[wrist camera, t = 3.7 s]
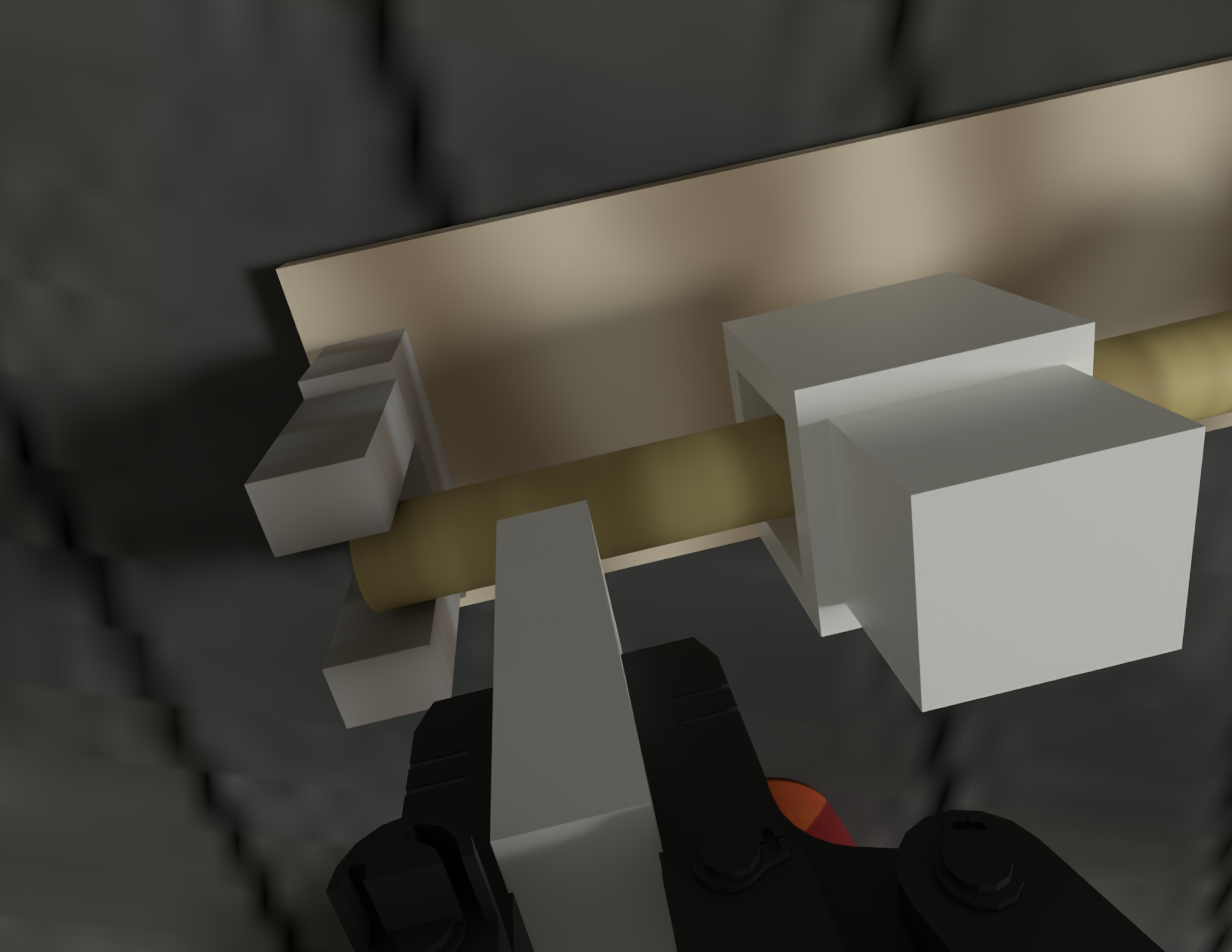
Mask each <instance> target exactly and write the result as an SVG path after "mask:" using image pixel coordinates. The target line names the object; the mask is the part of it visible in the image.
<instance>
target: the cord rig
mask: <svg viewBox="0 0 1232 952" xmlns="http://www.w3.org/2000/svg"><path fill="white" fill-rule="evenodd" d="M276 272H277V274H278V277H279V280H280V283H281V285H282V288H283V291H284V294H285V296H286V299H287V302H288V305H289V308H290V310H291V313H292V316H293V319H294V321H295V324H296V327H297V330H298V332H299V335H300V338H301V341H302V344H303V346H304V349H305V352H306V355H307V357H308V360H309V363H310V367H309V368H308V369H307V371H306V372H305V373H304V375H303V376H302V377H301V378H300V380H299V381H298V384H299V387H300V390H301V392H302V395H303V398H304V401H303V402H302V404H301V405H300V406H299V408H298V409H297V411H296V412H295V413H294V415H293V416H292V418H291V419H290V420H289V422H288V423H287V425H286V426H285V428H284V429H283V430H282V432H281V433H280V435H279V436H278V437H277V439H276V440H275V442H274V443H273V444H272V446H271V447H270V449H269V450H268V452H267V453H266V454H265V456H264V457H263V459H262V460H261V461H260V463H259V464H258V466H257V467H256V468H255V470H254V471H253V473H252V474H251V476H250V477H249V478H248V480H247V481H246V483H245V484H244V486H245V488H246V490H247V493H248V495H249V498H250V500H251V502H252V505H253V507H254V509H255V512H256V514H257V517H258V519H259V521H260V524H261V526H262V528H263V531H264V533H265V536H266V538H267V540H268V543H269V545H270V547H271V550H272V552H273V554H274V557H279V556H284V555H288V554H292V553H297V552H301V551H305V550H310V549H314V548H318V547H323V546H327V545H331V544H335V543H340V542H344V541H348V540H349V545H350V553H351V559H352V564H353V568H354V574H353V577H352V580H351V583H350V586H349V589H348V592H347V595H346V599H345V602H344V605H343V608H342V611H341V614H340V617H339V620H338V623H337V626H336V629H335V632H334V635H333V638H332V641H331V644H330V647H329V650H328V653H327V656H326V659H325V662H324V665H323V668H322V671H323V673H324V675H325V678H326V680H327V682H328V685H329V687H330V690H331V692H332V694H333V697H334V699H335V701H336V704H337V706H338V709H339V711H340V713H341V716H342V718H343V720H344V723H345V725H346V728H351V727H356V726H360V725H364V724H368V723H372V722H377V721H381V720H385V719H389V718H393V717H397V716H402V715H406V714H410V713H414V712H418V711H423V710H427V709H429V708H430V707H431V705H432V704H433V702H434V701H439V700H443V699H447V698H451V694H452V683H453V672H454V661H455V650H456V639H457V628H458V616H459V607H462V606H466V605H471V604H475V603H479V602H483V601H488V600H492V599H495V578H496V528H497V521H498V520H502V519H507V518H511V517H515V516H520V515H524V514H528V513H533V512H537V511H541V510H545V509H550V508H554V507H558V506H563V505H567V504H571V503H576V502H580V501H584V500H587V504H588V508H589V513H590V517H591V521H592V525H593V530H594V534H595V538H596V542H597V547H598V551H599V555H600V559H601V564H602V568H603V572H604V573H607V572H611V571H615V570H620V569H624V568H628V567H632V566H637V565H641V564H645V563H649V562H654V561H658V560H662V559H667V558H671V557H675V556H679V555H684V554H688V553H692V552H696V551H701V550H705V549H709V548H713V547H718V546H722V545H726V544H730V543H735V542H739V541H743V540H747V539H752V538H756V537H760V536H759V534H758V532H757V531H756V529H755V527H754V526H753V524H757V523H761V522H765V521H769V520H774V519H778V518H782V517H786V516H791V515H795V507H794V499H793V490H792V482H791V473H790V465H789V456H788V448H787V439H786V431H785V422H784V420H783V419H782V417H781V416H780V415H779V414H775V415H771V416H767V417H762V418H758V419H753V420H749V421H745V422H740V423H736V417H735V410H734V403H733V396H732V390H731V383H730V376H729V369H728V362H727V355H726V348H725V341H724V334H723V327H722V323H724V322H728V321H732V320H737V319H741V318H746V317H750V316H755V315H759V314H764V313H768V312H772V311H777V310H781V309H786V308H790V307H795V306H799V305H804V304H808V303H812V302H817V301H821V300H826V299H830V298H835V297H839V296H843V295H848V294H852V293H857V292H861V291H866V290H870V289H875V288H879V287H883V286H888V285H892V284H897V283H901V282H906V281H910V280H915V279H919V278H923V277H928V276H932V275H937V274H941V273H946V272H952V273H955V274H957V275H960V276H963V277H966V278H969V279H972V280H975V281H978V282H981V283H984V284H986V285H989V286H992V287H995V288H998V289H1001V290H1004V291H1007V292H1010V293H1013V294H1015V295H1018V296H1021V297H1024V298H1027V299H1030V300H1033V301H1036V302H1039V303H1042V304H1044V305H1047V306H1050V307H1053V308H1056V309H1059V310H1062V311H1065V312H1068V313H1071V314H1073V315H1076V316H1079V317H1082V318H1085V319H1088V320H1091V321H1094V322H1095V338H1094V359H1093V377H1095V378H1097V379H1099V380H1101V381H1104V382H1106V383H1108V384H1111V385H1113V386H1115V387H1117V388H1120V389H1122V390H1124V391H1127V392H1129V393H1131V394H1133V395H1136V396H1138V397H1140V398H1142V399H1145V400H1147V401H1149V402H1152V403H1154V404H1156V405H1158V406H1161V407H1163V408H1165V409H1168V410H1170V411H1172V412H1174V413H1177V414H1179V415H1181V416H1183V417H1186V418H1188V419H1190V420H1193V421H1195V422H1197V423H1199V424H1202V425H1204V426H1206V428H1205V432H1207V431H1212V430H1216V429H1220V428H1224V427H1229V426H1232V56H1230V57H1225V58H1220V59H1216V60H1211V61H1207V62H1202V63H1197V64H1193V65H1188V66H1184V67H1179V68H1175V69H1170V70H1165V71H1161V72H1156V73H1152V74H1147V75H1143V76H1138V77H1133V78H1129V79H1124V80H1120V81H1115V82H1111V83H1106V84H1101V85H1097V86H1092V87H1088V88H1083V89H1078V90H1074V91H1069V92H1065V93H1060V94H1056V95H1051V96H1046V97H1042V98H1037V99H1033V100H1028V101H1024V102H1019V103H1014V104H1010V105H1005V106H1001V107H996V108H992V109H987V110H982V111H978V112H973V113H969V114H964V115H959V116H955V117H950V118H946V119H941V120H937V121H932V122H927V123H923V124H918V125H914V126H909V127H905V128H900V129H895V130H891V131H886V132H882V133H877V134H873V135H868V136H863V137H859V138H854V139H850V140H845V141H840V142H836V143H831V144H827V145H822V146H818V147H813V148H808V149H804V150H799V151H795V152H790V153H786V154H781V155H776V156H772V157H767V158H763V159H758V160H754V161H749V162H744V163H740V164H735V165H731V166H726V167H721V168H717V169H712V170H708V171H703V172H699V173H694V174H689V175H685V176H680V177H676V178H671V179H667V180H662V181H657V182H653V183H648V184H644V185H639V186H635V187H630V188H625V189H621V190H616V191H612V192H607V193H602V194H598V195H593V196H589V197H584V198H580V199H575V200H570V201H566V202H561V203H557V204H552V205H548V206H543V207H538V208H534V209H529V210H525V211H520V212H516V213H511V214H506V215H502V216H497V217H493V218H488V219H484V220H479V221H474V222H470V223H465V224H461V225H456V226H451V227H447V228H442V229H438V230H433V231H429V232H424V233H419V234H415V235H410V236H406V237H401V238H397V239H392V240H387V241H383V242H378V243H374V244H369V245H365V246H360V247H355V248H351V249H346V250H342V251H337V252H332V253H328V254H323V255H319V256H314V257H310V258H305V259H300V260H296V261H291V262H287V263H285V264H283V265H282V266H280V267H279V268H277V269H276Z"/></svg>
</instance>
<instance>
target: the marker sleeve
mask: <svg viewBox="0 0 1232 952" xmlns="http://www.w3.org/2000/svg"><path fill="white" fill-rule="evenodd" d="M722 327H723V334H724V341H725V348H726V355H727V362H728V369H729V376H730V383H731V390H732V396H733V403H734V410H735V417H736V423H740V422H745V421H749V420H753V419H758V418H762V417H767V416H771V415H775V414H779V415H780V416H781V417H782V419H783V420H784V422H785V431H786V439H787V448H788V456H789V465H790V473H791V482H792V490H793V499H794V507H795V515H791V516H786V517H782V518H778V519H774V520H769V521H765V522H761V523H757V524H753V526H754V527H755V529H756V531H757V532H758V534H759V536H760V537H761V539H762V541H763V542H764V544H765V545H766V547H767V549H768V550H769V552H770V554H771V555H772V557H773V558H774V560H775V562H776V563H777V565H778V567H779V568H780V570H781V572H782V573H783V575H784V576H785V578H786V580H787V581H788V583H789V585H790V586H791V588H792V589H793V591H794V593H795V594H796V596H797V598H798V599H799V601H800V603H801V604H802V606H803V607H804V609H805V611H806V612H807V614H808V616H809V617H810V619H811V620H812V622H813V624H814V625H815V627H816V629H817V630H818V632H819V634H820V635H821V637H823V636H828V635H832V634H836V633H840V632H844V631H848V630H853V629H857V628H861V627H863V629H864V630H865V632H866V633H867V635H868V636H869V637H870V639H871V640H872V642H873V643H874V644H875V646H876V647H877V649H878V650H879V652H880V653H881V654H882V656H883V657H884V659H885V660H886V662H887V663H888V664H889V666H890V667H891V669H892V670H893V671H894V673H895V674H896V676H897V677H898V679H899V680H900V681H901V683H902V684H903V686H904V687H905V688H906V690H907V691H908V693H909V694H910V696H911V697H912V698H913V700H914V701H915V703H916V704H917V706H918V707H919V708H920V710H921V711H922V712H925V711H929V710H933V709H937V708H941V707H946V706H950V705H954V704H958V703H962V702H966V701H970V700H974V699H978V698H982V697H987V696H991V695H995V694H999V693H1003V692H1007V691H1011V690H1015V689H1019V688H1023V687H1028V686H1032V685H1036V684H1040V683H1044V682H1048V681H1052V680H1056V679H1060V678H1064V677H1068V676H1073V675H1077V674H1081V673H1085V672H1089V671H1093V670H1097V669H1101V668H1105V667H1109V666H1114V665H1118V664H1122V663H1126V662H1130V661H1134V660H1138V659H1142V658H1146V657H1150V656H1154V655H1159V654H1163V653H1167V652H1171V651H1175V650H1179V649H1182V640H1183V631H1184V622H1185V613H1186V604H1187V594H1188V585H1189V576H1190V567H1191V557H1192V548H1193V539H1194V530H1195V520H1196V511H1197V502H1198V493H1199V484H1200V474H1201V465H1202V456H1203V447H1204V437H1205V428H1206V426H1204V425H1202V424H1199V423H1197V422H1195V421H1193V420H1190V419H1188V418H1186V417H1183V416H1181V415H1179V414H1177V413H1174V412H1172V411H1170V410H1168V409H1165V408H1163V407H1161V406H1158V405H1156V404H1154V403H1152V402H1149V401H1147V400H1145V399H1142V398H1140V397H1138V396H1136V395H1133V394H1131V393H1129V392H1127V391H1124V390H1122V389H1120V388H1117V387H1115V386H1113V385H1111V384H1108V383H1106V382H1104V381H1101V380H1099V379H1097V378H1095V377H1093V359H1094V338H1095V322H1094V321H1091V320H1088V319H1085V318H1082V317H1079V316H1076V315H1073V314H1071V313H1068V312H1065V311H1062V310H1059V309H1056V308H1053V307H1050V306H1047V305H1044V304H1042V303H1039V302H1036V301H1033V300H1030V299H1027V298H1024V297H1021V296H1018V295H1015V294H1013V293H1010V292H1007V291H1004V290H1001V289H998V288H995V287H992V286H989V285H986V284H984V283H981V282H978V281H975V280H972V279H969V278H966V277H963V276H960V275H957V274H955V273H952V272H946V273H941V274H937V275H932V276H928V277H923V278H919V279H915V280H910V281H906V282H901V283H897V284H892V285H888V286H883V287H879V288H875V289H870V290H866V291H861V292H857V293H852V294H848V295H843V296H839V297H835V298H830V299H826V300H821V301H817V302H812V303H808V304H804V305H799V306H795V307H790V308H786V309H781V310H777V311H772V312H768V313H764V314H759V315H755V316H750V317H746V318H741V319H737V320H732V321H728V322H724V323H722Z"/></svg>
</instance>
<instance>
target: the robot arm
mask: <svg viewBox="0 0 1232 952" xmlns="http://www.w3.org/2000/svg"><path fill="white" fill-rule="evenodd" d="M410 767H411V769H409V771H408V778H407V785H406V791H407V795H406V796H405V799H404V805H403V812H402V818H400V819H397V820H394V821H392V822H389V823H387V824H384V825H382V826H380V827H379V828H377V829H376V830H374V831H373V832H372V833H370V834H369V835H367V836H366V837H365V838H363V839H362V840H360V841H359V842H358V843H356V844H355V846H354V847H353V848H352V849H351V850H350V851H349V853H348V854H347V855H346V856H345V857H344V858H343V860H342V861H341V862H340V863H339V864H338V865H337V867H336V869H335V872H334V874H333V876H332V878H331V881H330V883H329V885H328V888H327V890H326V893H327V895H328V897H329V899H330V901H331V903H332V905H333V907H334V909H335V911H336V913H337V915H338V918H339V920H340V922H341V924H342V926H343V928H344V930H345V932H346V934H347V936H348V938H349V940H350V942H351V944H352V946H353V948H354V950H355V952H1165V951H1164V950H1162V949H1161V948H1160V947H1159V946H1158V945H1157V944H1156V943H1155V942H1153V941H1152V940H1151V939H1150V938H1149V937H1148V936H1147V935H1146V934H1145V933H1143V932H1142V931H1141V930H1140V929H1139V928H1138V927H1137V926H1136V925H1135V924H1133V923H1132V922H1131V921H1130V920H1129V919H1128V918H1127V917H1126V916H1125V915H1123V914H1122V913H1121V912H1120V911H1119V910H1118V909H1117V908H1116V907H1114V906H1113V905H1112V904H1111V903H1110V902H1109V901H1108V900H1107V899H1106V898H1104V897H1103V896H1102V895H1101V894H1100V893H1099V892H1098V891H1097V890H1096V889H1094V888H1093V887H1092V886H1091V885H1090V884H1089V883H1088V882H1087V881H1085V880H1084V879H1083V878H1082V877H1081V876H1080V875H1079V874H1078V873H1077V872H1075V871H1074V870H1073V869H1072V868H1071V867H1070V866H1069V865H1068V864H1067V863H1065V862H1064V861H1063V860H1062V859H1061V858H1060V857H1059V856H1058V855H1057V854H1055V853H1054V852H1053V851H1052V850H1051V849H1050V848H1049V847H1048V846H1046V845H1045V844H1044V843H1043V842H1042V841H1041V840H1040V839H1039V838H1037V837H1036V836H1034V835H1033V834H1031V833H1030V832H1028V831H1027V830H1025V829H1024V828H1022V827H1020V826H1019V825H1017V824H1016V823H1014V822H1013V821H1011V820H1008V819H1005V818H1001V817H998V816H995V815H992V814H989V813H986V812H983V811H965V810H949V811H946V812H943V813H939V814H936V815H932V816H929V817H925V818H924V819H922V820H921V821H920V822H919V823H917V824H916V825H915V826H914V827H912V828H911V829H910V830H909V831H907V832H906V833H905V835H904V838H903V840H902V842H901V844H900V847H899V849H897V848H875V847H855V846H848V845H841V844H834V843H830V842H828V841H825V840H822V839H819V838H816V837H814V836H811V835H810V834H808V833H806V832H805V831H803V830H802V829H800V828H798V827H797V826H795V825H794V824H793V823H792V822H791V821H790V820H789V819H788V818H787V817H786V816H785V815H784V814H783V813H782V812H781V810H780V808H779V807H778V805H777V803H776V802H775V800H774V798H773V796H772V793H771V791H770V788H769V786H768V783H767V780H766V778H765V775H764V773H763V770H762V768H761V765H760V763H759V760H758V758H757V755H756V753H755V750H754V748H753V745H752V742H751V740H750V737H749V735H748V732H747V730H746V727H745V725H744V722H743V720H742V717H741V715H740V712H739V711H738V708H737V704H736V702H735V699H734V697H733V694H732V692H731V689H730V688H729V685H728V682H727V679H726V677H725V674H724V671H723V669H722V666H721V664H720V661H719V659H718V656H716V655H715V654H714V653H713V652H711V651H710V650H709V649H708V648H706V647H705V646H704V645H703V644H701V643H700V642H699V641H698V640H696V639H695V638H694V637H691V638H687V639H683V640H679V641H674V642H670V643H666V644H662V645H658V646H654V647H649V648H645V649H641V650H637V651H633V652H628V653H624V654H622V649H621V645H620V640H619V636H618V631H617V627H616V623H615V619H614V615H613V610H612V606H611V602H610V598H609V593H608V589H607V585H606V581H605V576H604V572H603V568H602V564H601V559H600V555H599V551H598V547H597V542H596V538H595V534H594V530H593V525H592V521H591V517H590V513H589V508H588V504H587V500H584V501H580V502H576V503H571V504H567V505H563V506H558V507H554V508H550V509H545V510H541V511H537V512H533V513H528V514H524V515H520V516H515V517H511V518H507V519H502V520H498V521H497V528H496V578H495V627H494V677H493V688H489V689H485V690H481V691H476V692H472V693H468V694H464V695H460V696H455V697H451V698H447V699H443V700H439V701H434V702H433V704H432V705H431V707H430V708H429V710H428V711H427V713H426V714H425V716H424V718H423V719H422V721H421V722H420V724H419V725H418V727H417V729H416V730H415V732H414V737H413V744H412V751H411V758H410Z"/></svg>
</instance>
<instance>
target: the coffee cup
mask: <svg viewBox="0 0 1232 952" xmlns="http://www.w3.org/2000/svg"><path fill="white" fill-rule="evenodd" d="M766 780H767V783H768V786H769V788H770V791H771V793H772V796H773V798H774V800H775V802H776V803H777V805H778V807H779V808H780V810H781V812H782V813H783V814H784V815H785V816H786V817H787V818H788V819H789V820H790V821H791V822H792V823H793V824H794V825H795V826H797V827H798V828H800V829H802V830H803V831H805V832H806V833H808V834H810V835H811V836H814V837H816V838H819V839H822V840H825V841H828V842H830V843H834V844H841V845H848V846H855V847H856V845H855V844H854V842H853V840H852V839H851V837H850V835H849V833H848V832H847V830H846V828H845V827H844V825H843V823H842V822H841V820H840V819H839V817H838V815H837V814H836V812H835V811H834V809H833V808H832V806H831V805H830V804H829V802H828V801H827V800H826V799H825V798H824V796H822V795H821V794H820V793H819V792H818V791H816V790H815V789H813V788H812V787H810V786H808V785H806V784H803V783H801V782H798V781H794V780H790V779H782V778H766Z"/></svg>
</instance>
